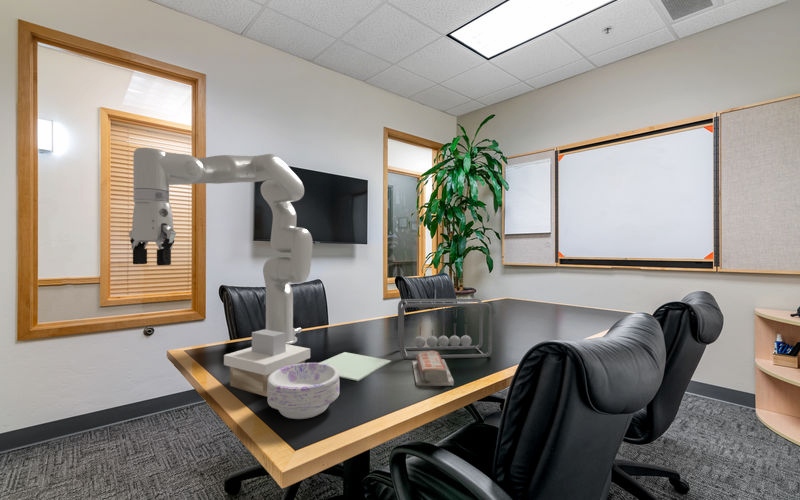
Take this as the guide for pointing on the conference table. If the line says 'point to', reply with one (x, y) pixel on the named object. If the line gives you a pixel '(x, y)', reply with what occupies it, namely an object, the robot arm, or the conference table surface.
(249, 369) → the lid
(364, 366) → the mat
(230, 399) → the conference table surface
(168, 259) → the robot arm
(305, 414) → the paper bowls
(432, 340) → the newton's cradle
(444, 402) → the conference table surface
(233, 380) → the box
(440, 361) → the packaged product
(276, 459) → the conference table surface
